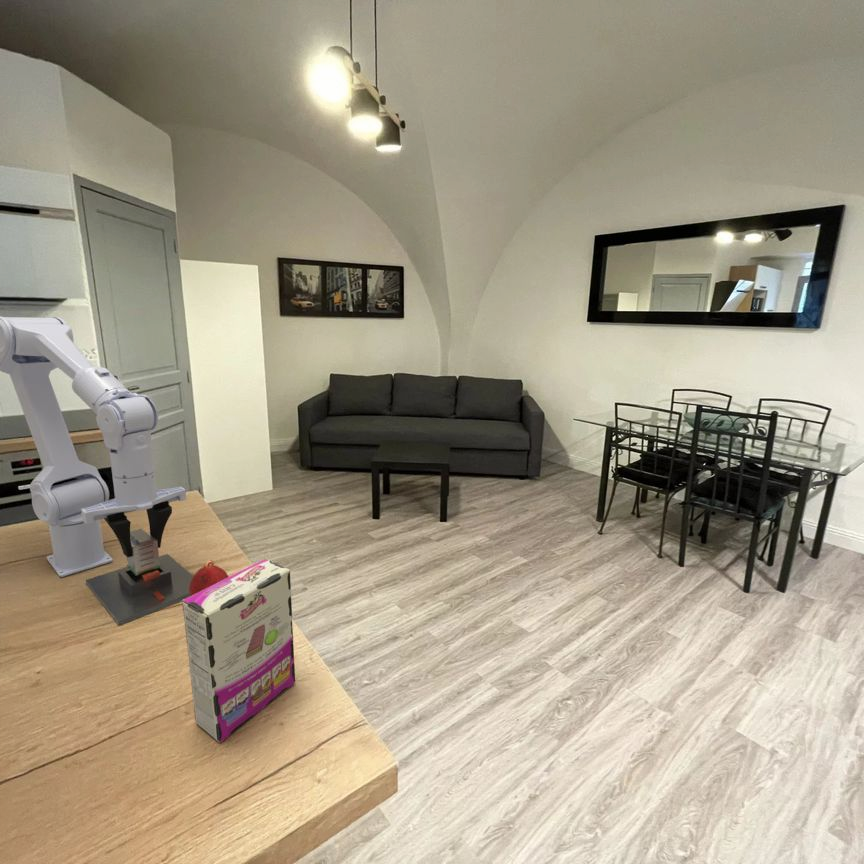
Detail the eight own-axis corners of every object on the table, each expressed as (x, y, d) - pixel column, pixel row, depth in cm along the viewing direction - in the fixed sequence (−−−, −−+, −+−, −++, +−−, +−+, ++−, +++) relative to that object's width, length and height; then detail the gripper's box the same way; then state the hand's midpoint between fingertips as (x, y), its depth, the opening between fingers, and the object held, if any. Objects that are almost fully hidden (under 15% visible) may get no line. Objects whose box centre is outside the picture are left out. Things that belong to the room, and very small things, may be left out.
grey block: (125, 565, 80) (122, 533, 79) (150, 557, 83) (147, 527, 82) (137, 577, 77) (133, 544, 76) (162, 568, 80) (159, 536, 79)
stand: (86, 584, 81) (83, 564, 80) (167, 557, 91) (166, 539, 90) (119, 625, 71) (116, 603, 70) (206, 591, 81) (205, 570, 80)
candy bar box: (270, 667, 64) (265, 556, 60) (296, 683, 62) (293, 568, 58) (191, 725, 55) (179, 597, 51) (218, 746, 52) (208, 614, 49)
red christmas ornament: (216, 620, 73) (212, 573, 71) (183, 614, 74) (178, 568, 72) (238, 599, 79) (235, 555, 77) (207, 594, 80) (203, 550, 78)
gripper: (87, 490, 68) (98, 575, 72) (191, 469, 79) (197, 544, 82) (73, 478, 73) (84, 559, 76) (173, 459, 83) (179, 531, 87)
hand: (142, 550), depth 79 cm, fingers closed on grey block, 4 cm apart
